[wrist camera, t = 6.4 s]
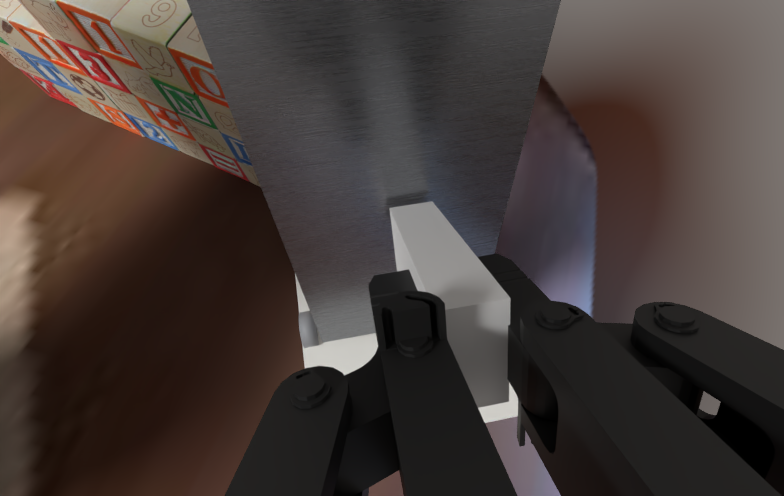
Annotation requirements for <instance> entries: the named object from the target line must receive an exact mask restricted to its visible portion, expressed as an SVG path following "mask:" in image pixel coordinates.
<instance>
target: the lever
mask: <svg viewBox="0 0 784 496" xmlns="http://www.w3.org/2000/svg"><path fill="white" fill-rule="evenodd" d="M560 1H561V0H187V3H188V5H189V8H190V10H191V13H192V15H193V18H194V20H195V23H196V25H197V28H198V30H199V33H200V35H201V38H202V40H203V43H204V45H205V48H206V50H207V53H208V55H209V58H210V60H211V63H212V65H213V68H214V70H215V73H216V75H217V78H218V81H219V83H220V86H221V88H222V91H223V93H224V96H225V98H226V101H227V103H228V106H229V108H230V111H231V113H232V116H233V118H234V121H235V123H236V126H237V128H238V131H239V133H240V136H241V138H242V141H243V143H244V146H245V148H246V151H247V153H248V156H249V158H250V161H251V164H252V166H253V169H254V171H255V174H256V176H257V179H258V181H259V184H260V186H261V189H262V191H263V194H264V196H265V199H266V201H267V204H268V206H269V209H270V211H271V214H272V216H273V219H274V221H275V224H276V226H277V229H278V231H279V234H280V236H281V239H282V241H283V244H284V247H285V249H286V252H287V254H288V257H289V259H290V262H291V264H292V267H293V269H294V272H295V274H296V277H297V279H298V282H299V284H300V287H301V289H302V292H303V294H304V297H305V299H306V302H307V304H308V307H309V309H310V312H311V314H312V317H313V319H314V322H315V324H316V327H317V330H318V332H319V335H320V337H321V340H322V342H323V343H324V342H329V341H334V340H340V339H345V338H351V337H356V336H362V335H367V334H373V333H376V332H375V325H374V319H373V313H372V306H371V300H370V294H369V287H368V285H369V283H370V281H371V280H372V278H373V276H374V275H379V274H385V273H391V272H397V267H396V259H395V250H394V242H393V234H392V225H391V217H390V209H389V208H392V207H398V206H405V205H411V204H418V203H425V202H431V201H432V202H433V203H434V204H435V205H436V207H437V208H438V209H439V210H440V211H441V213H442V214H443V215H444V216H445V218H446V219H447V220H448V221H449V223H450V224H451V225H452V226H453V228H454V229H455V230H456V231H457V233H458V234H459V235H460V236H461V237H462V239H463V240H464V241H465V242H466V244H467V245H468V246H469V247H470V249H471V250H472V251H473V252H474V254H475V255H476V256H477V257H479V256H485V255H491V254H494V253H495V249H496V245H497V242H498V238H499V234H500V230H501V226H502V222H503V219H504V215H505V211H506V207H507V203H508V200H509V196H510V192H511V188H512V184H513V180H514V177H515V173H516V169H517V165H518V161H519V158H520V154H521V150H522V146H523V142H524V138H525V135H526V131H527V127H528V123H529V119H530V116H531V112H532V108H533V104H534V100H535V97H536V93H537V89H538V85H539V81H540V77H541V74H542V70H543V66H544V62H545V58H546V54H547V51H548V47H549V43H550V39H551V35H552V32H553V28H554V24H555V20H556V16H557V12H558V9H559V5H560Z"/></svg>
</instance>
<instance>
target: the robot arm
mask: <svg viewBox="0 0 784 496" xmlns="http://www.w3.org/2000/svg"><path fill="white" fill-rule="evenodd" d="M389 209H390V217H391V225H392V234H393V242H394V250H395V259H396V267H397V272H391V273H385V274H379V275H374V276H373V278H372V280H371V281H370V283H369V285H368V287H369V294H370V300H371V306H372V313H373V319H374V325H375V332H376V337H377V343H378V348H377V351H376V353H375V355H374V356H373V357H372V359H371V360H370V361H369V362H367V363H366V364H365V365H364V366H362V367H360V368H359V369H357V370H355V371H353V372H351V373H349V374H346V375H344V374H343V373H342V372H340V371H339V370H337V369H335V368H333V367H326V366H316V367H309V368H305V369H303V370H301V371H298V372H296V373H293V374H292V375H291V376H289V377H288V378H287V379H285V380H284V381H283V382H282V383H281V384H280V386H279V387H278V388H277V390H276V391H275V392H274V394H273V396H272V398H271V401H270V403H269V405H268V407H267V409H266V411H265V413H264V415H263V417H262V419H261V421H260V423H259V425H258V428H257V430H256V432H255V434H254V436H253V438H252V440H251V442H250V444H249V446H248V448H247V450H246V452H245V455H244V457H243V459H242V461H241V463H240V465H239V467H238V469H237V471H236V473H235V475H234V477H233V479H232V482H231V484H230V486H229V488H228V490H227V492H226V494H225V496H368V493H369V487H370V486H372V485H374V484H376V483H377V482H379V481H381V480H383V479H384V478H386V477H388V476H389V475H391V474H393V473H395V472H396V471H398V470H399V471H400V477H401V482H402V488H403V494H404V496H517V494H516V492H515V489H514V487H513V485H512V483H511V481H510V478H509V476H508V474H507V472H506V469H505V467H504V465H503V463H502V460H501V458H500V456H499V454H498V452H497V449H496V447H495V445H494V443H493V440H492V438H491V436H490V434H489V431H488V429H487V427H486V425H485V422H484V420H483V418H482V416H481V414H480V411H479V409H478V408H480V407H485V406H490V405H495V404H500V403H505V402H509V383H510V384H511V386H512V388H513V389H514V391H515V393H516V395H517V396H518V426H517V438H518V442H519V446H524V445H525V430H526V432H527V434H528V436H529V437H530V439H531V443H532V444H533V445H534V447H535V449H536V450H537V452H538V454H539V456H540V458H541V460H542V461H543V463H544V465H545V467H546V469H547V471H548V472H549V474H550V476H551V478H552V480H553V482H554V483H555V485H556V487H557V489H558V491H559V493H560V494H561V496H784V350H782V349H780V348H778V347H776V346H774V345H772V344H769V343H767V342H765V341H763V340H761V339H759V338H757V337H754V336H752V335H750V334H748V333H746V332H744V331H742V330H740V329H737V328H735V327H733V326H731V325H729V324H727V323H725V322H722V321H720V320H718V319H716V318H714V317H712V316H710V315H707V314H705V313H703V312H701V311H698V310H696V309H693V308H690V307H687V306H685V305H680V304H675V303H670V302H654V303H649V304H644V305H642V306H640V307H639V308H637V309H636V311H635V316H634V321H633V324H620V323H597V322H595V321H594V320H593V319H592V318H591V317H590V316H589V315H588V314H587V313H586V312H584V311H583V310H581V309H580V308H578V307H576V306H573V305H570V304H567V303H564V302H556V301H551V300H550V299H549V298H548V297H547V296H546V295H545V294H544V293H543V292H542V291H541V290H540V289H539V288H538V287H537V286H536V285H535V284H534V283H533V282H532V281H531V280H530V279H528V278H527V276H526V275H525V274H524V273H523V272H522V271H520V269H519V268H518V267H517V266H516V265H515V264H514V263H513V262H512V261H511V260H510V259H508V258H505V257H503V256H501V255H499V254H491V255H485V256H479V257H477V256H476V255H475V254H474V252H473V251H472V250H471V249H470V247H469V246H468V245H467V244H466V242H465V241H464V240H463V239H462V237H461V236H460V235H459V234H458V233H457V231H456V230H455V229H454V228H453V226H452V225H451V224H450V223H449V221H448V220H447V219H446V218H445V216H444V215H443V214H442V213H441V211H440V210H439V209H438V208H437V207H436V205H435V204H434V203H433V202H432V201H431V202H425V203H418V204H411V205H405V206H398V207H392V208H389ZM703 391H705V392H706V393H708V394H710V395H711V396H713V397H714V398H716V399H718V400H719V401H721V403H720V406H719V409H718V413H717V415H711V414H708V413H705V412H704V411H702V410H700V409H699V405H700V402H701V398H702V395H703Z"/></svg>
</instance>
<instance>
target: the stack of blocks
mask: <svg viewBox="0 0 784 496" xmlns="http://www.w3.org/2000/svg"><path fill="white" fill-rule="evenodd" d="M0 54H1V55H3V56H4V57H5V58H6V59H7V60H8V61H9V62H11V63H12V64H13V65H14V66H15V67H17V68H19V69H20V70H21V71H22V72H23V73H24V74H25V75H26V76H27V77H29V78H30V79H31V80H32V81H33V82H34V83H35V84H36V85H37V86H39V87H40V88H41V89H42V90H43V91H44V92H46V93H47V94H48V95H49V96H50V97H52V98H55V99H58V100H60V101H63V102H65V103H68V104H70V105H72V106H75V107H77V108H80V109H81V110H82V111H84V112H86V113H89V114H91V115H93V116H96V117H98V118H101V119H103V120H105V121H108V122H111V123H113V124H115V125H117V126H119V127H121V128H124V129H126V130H128V131H131V132H133V133H135V134H138V135H140V136H142V137H148V138H150V139H152V140H154V141H157V142H159V143H161V144H164V145H166V146H168V147H171V148H173V149H175V150H178V151H181V152H183V153H185V154H188V155H190V156H193V157H195V158H197V159H200V160H202V161H204V162H207V163H209V164H212V165H214V166H215V167H216V168H219V169H221V170H223V171H225V172H228V173H230V174H232V175H235V176H237V177H239V178H242V179H244V180H246V181H249V182H251V183H253V184H255V185H257V186H260V184H259V181H258V179H257V176H256V174H255V171H254V169H253V166H252V164H251V161H250V158H249V156H248V153H247V151H246V148H245V146H244V143H243V141H242V138H241V136H240V133H239V131H238V128H237V126H236V123H235V121H234V118H233V116H232V113H231V111H230V108H229V106H228V103H227V101H226V98H225V96H224V93H223V91H222V88H221V86H220V83H219V81H218V78H217V75H216V73H215V70H214V68H213V65H212V63H211V60H210V58H209V55H208V53H207V50H206V48H205V45H204V43H203V40H202V38H201V35H200V33H199V30H198V28H197V25H196V23H195V20H194V18H193V15H192V13H191V10H190V8H189V5H188V3H187V0H0ZM260 187H261V186H260Z"/></svg>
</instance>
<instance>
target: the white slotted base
mask: <svg viewBox="0 0 784 496" xmlns="http://www.w3.org/2000/svg"><path fill="white" fill-rule="evenodd" d="M295 278H296V288H297V297H298V307H299V330H300V336H301V341H302V346H303V355H304V365H305V368H309V367H316V366H326V367H333V368H335V369H337V370H339V371H340V372H342V373H343V374H344V375H346V374H349V373H351V372H353V371H355V370H357V369H359V368H360V367H362V366H364V365H365V364H366V363H367V362H369V361H370V360H371V359H372V357H373V356H374V355H375V353H376V351H377V348H378V343H377V337H376V333H373V334H367V335H362V336H356V337H351V338H345V339H340V340H334V341H329V342H324V343H323V342H322V340H321V337H320V335H319V332H318V330H317V327H316V324H315V322H314V319H313V317H312V314H311V312H310V309H309V307H308V304H307V302H306V299H305V297H304V294H303V292H302V289H301V287H300V284H299V282H298V279H297V277H296V274H295ZM478 409H479V411H480V414H481V416H482V418H483V420H484V422H485V423H487V422H492V421H497V420H502V419H506V418H511V417H516V416H518V398H517V395H516V393H515V391H514V389H513V388H512V386H511V384H510V383H509V402H505V403H500V404H495V405H490V406H485V407H480V408H478Z"/></svg>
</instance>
